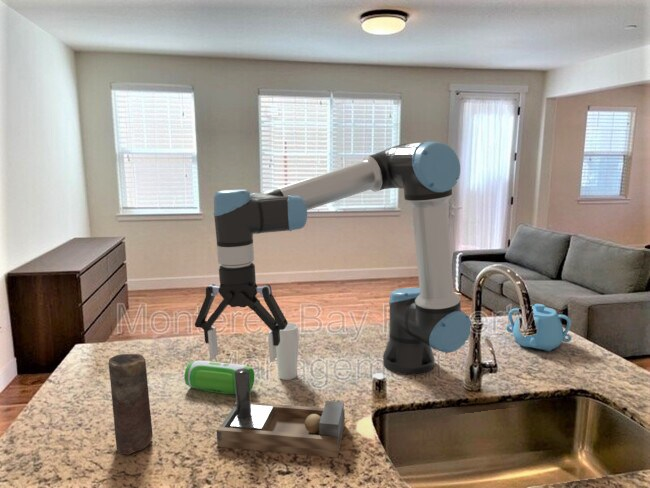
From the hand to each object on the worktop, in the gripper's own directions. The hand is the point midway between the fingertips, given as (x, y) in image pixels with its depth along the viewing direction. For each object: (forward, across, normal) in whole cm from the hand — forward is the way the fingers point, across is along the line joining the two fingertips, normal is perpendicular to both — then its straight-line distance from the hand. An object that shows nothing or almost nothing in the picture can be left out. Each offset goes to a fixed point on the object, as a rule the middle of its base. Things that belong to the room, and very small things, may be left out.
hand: (243, 358), depth 100 cm
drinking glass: (+18, -2, -28) cm, 33 cm away
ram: (+16, -1, 0) cm, 16 cm away
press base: (+18, -8, 0) cm, 20 cm away
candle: (+17, +23, +8) cm, 30 cm away
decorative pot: (+20, -78, -61) cm, 102 cm away
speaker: (+18, +14, -18) cm, 29 cm away
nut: (+14, -15, 0) cm, 21 cm away
